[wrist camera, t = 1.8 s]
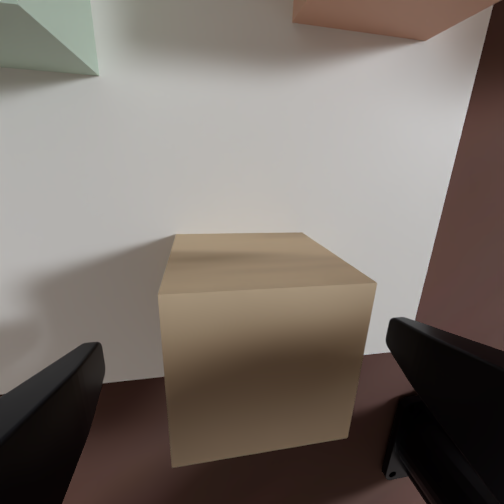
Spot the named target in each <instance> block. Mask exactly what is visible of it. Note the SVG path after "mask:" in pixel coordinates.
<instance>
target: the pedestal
mask: <svg viewBox="0 0 504 504" xmlns="http://www.w3.org/2000/svg"><path fill="white" fill-rule="evenodd" d="M0 67H3V68H14V69H26V70H37V71H48V72H60V73H71V74H83V75H94V76H99V69H98V60H97V52H96V44H95V36H94V28H93V20H92V11H91V3H90V0H0Z"/></svg>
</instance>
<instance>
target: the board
mask: <svg viewBox="0 0 504 504" xmlns="http://www.w3.org/2000/svg"><path fill="white" fill-rule="evenodd" d="M293 1H294V0H90V3H91V11H92V20H93V28H94V36H95V44H96V52H97V60H98V69H99V76H94V75H83V74H71V73H60V72H48V71H37V70H26V69H14V68H3V67H0V394H6V393H8V392H9V391H11V390H12V389H14V388H15V387H17V386H18V385H20V384H21V383H23V382H24V381H26V380H28V379H29V378H31V377H32V376H34V375H35V374H37V373H38V372H40V371H41V370H43V369H44V368H46V367H47V366H49V365H51V364H52V363H54V362H55V361H57V360H58V359H60V358H61V357H63V356H64V355H66V354H67V353H69V352H70V351H72V350H73V349H75V348H77V347H78V346H80V345H81V344H83V343H88V342H100V343H101V345H102V349H103V355H104V361H105V376H104V380H103V383H110V382H120V381H129V380H138V379H147V378H156V377H164V366H163V354H162V342H161V330H160V318H159V305H158V292H159V289H160V285H161V282H162V279H163V275H164V272H165V269H166V265H167V262H168V259H169V256H170V252H171V249H172V246H173V242H174V239H175V236H176V234H223V233H294V232H302V233H304V234H305V235H307V236H308V237H310V238H311V239H313V240H314V241H316V242H317V243H319V244H320V245H322V246H323V247H325V248H326V249H328V250H329V251H331V252H332V253H333V254H335V255H336V256H338V257H339V258H341V259H342V260H344V261H345V262H347V263H348V264H350V265H351V266H353V267H354V268H356V269H357V270H359V271H360V272H362V273H363V274H365V275H366V276H368V277H369V278H371V279H372V280H374V281H375V282H377V287H376V293H375V298H374V303H373V308H372V313H371V319H370V324H369V329H368V334H367V340H366V345H365V350H364V355H368V354H377V353H386V352H390V350H389V348H388V347H387V345H386V334H387V329H388V324H389V321H390V319H391V318H394V317H405V318H408V319H411V320H414V321H415V317H416V313H417V309H418V305H419V301H420V297H421V293H422V289H423V285H424V281H425V277H426V273H427V269H428V265H429V261H430V257H431V253H432V249H433V245H434V241H435V237H436V233H437V229H438V225H439V221H440V217H441V213H442V209H443V205H444V201H445V197H446V193H447V189H448V185H449V181H450V177H451V173H452V169H453V165H454V161H455V157H456V153H457V149H458V145H459V141H460V137H461V133H462V129H463V125H464V121H465V117H466V113H467V109H468V105H469V100H470V96H471V92H472V88H473V84H474V80H475V76H476V72H477V68H478V64H479V60H480V56H481V52H482V48H483V44H484V40H485V36H486V32H487V28H488V24H489V20H490V16H491V12H492V8H493V5H492V6H490V7H488V8H486V9H484V10H482V11H480V12H478V13H477V14H475V15H473V16H471V17H469V18H467V19H465V20H463V21H462V22H460V23H458V24H456V25H454V26H452V27H450V28H448V29H447V30H445V31H443V32H441V33H439V34H437V35H435V36H434V37H432V38H430V39H428V40H426V41H421V40H414V39H407V38H400V37H393V36H385V35H378V34H371V33H364V32H357V31H349V30H342V29H335V28H328V27H321V26H313V25H306V24H299V23H292V17H293Z"/></svg>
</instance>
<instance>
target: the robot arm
mask: <svg viewBox="0 0 504 504" xmlns="http://www.w3.org/2000/svg"><path fill="white" fill-rule="evenodd" d="M386 345H387V347H388V348H389V350H390V352H391V353H392V355H393V356H394V358H395V360H396V361H397V363H398V364H399V366H400V368H401V369H402V371H403V373H404V374H405V376H406V377H407V379H408V381H409V382H410V384H411V385H412V387H413V388H414V390H415V391H416V392H417V394H418V395H416V396H409V397H405V398H403V399H402V400H401V401H400V402H399V404H398V408H397V412H396V416H395V420H394V424H393V428H392V432H391V436H390V439H389V443H388V447H387V451H386V455H385V459H384V463H383V467H382V472H383V474H384V476H385V477H386V479H388V480H392V479H397V478H402V477H407V476H408V477H409V478H410V480H411V481H412V483H413V484H414V486H415V487H416V489H417V490H418V492H419V493H420V495H421V496H422V497H423V499H424V500H425V502H426V503H427V504H504V351H501V350H498V349H495V348H492V347H490V346H487V345H484V344H481V343H478V342H475V341H472V340H469V339H466V338H463V337H461V336H458V335H455V334H452V333H449V332H446V331H443V330H440V329H437V328H434V327H432V326H429V325H426V324H423V323H420V322H417V321H414V320H411V319H408V318H405V317H394V318H391V319H390V321H389V324H388V329H387V334H386ZM104 376H105V361H104V355H103V349H102V345H101V343H100V342H88V343H83V344H81V345H80V346H78V347H77V348H75V349H73V350H72V351H70V352H69V353H67V354H66V355H64V356H63V357H61V358H60V359H58V360H57V361H55V362H54V363H52V364H51V365H49V366H47V367H46V368H44V369H43V370H41V371H40V372H38V373H37V374H35V375H34V376H32V377H31V378H29V379H28V380H26V381H24V382H23V383H21V384H20V385H18V386H17V387H15V388H14V389H12V390H11V391H9V392H8V393H6V394H5V395H3V396H1V397H0V504H62V502H63V500H64V497H65V494H66V492H67V489H68V487H69V484H70V481H71V479H72V476H73V474H74V471H75V468H76V466H77V463H78V461H79V458H80V455H81V453H82V450H83V448H84V445H85V442H86V440H87V437H88V434H89V431H90V428H91V424H92V421H93V417H94V413H95V410H96V406H97V402H98V398H99V395H100V391H101V387H102V383H103V380H104Z"/></svg>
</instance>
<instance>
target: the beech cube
mask: <svg viewBox="0 0 504 504" xmlns="http://www.w3.org/2000/svg"><path fill="white" fill-rule="evenodd" d="M376 287H377V282H375V281H374V280H372V279H371V278H369V277H368V276H366V275H365V274H363V273H362V272H360V271H359V270H357V269H356V268H354V267H353V266H351V265H350V264H348V263H347V262H345V261H344V260H342V259H341V258H339V257H338V256H336V255H335V254H333V253H332V252H331V251H329V250H328V249H326V248H325V247H323V246H322V245H320V244H319V243H317V242H316V241H314V240H313V239H311V238H310V237H308V236H307V235H305V234H304V233H302V232H294V233H223V234H176V236H175V239H174V242H173V246H172V249H171V252H170V256H169V259H168V262H167V265H166V269H165V272H164V275H163V279H162V282H161V285H160V289H159V292H158V305H159V318H160V330H161V342H162V354H163V366H164V378H165V390H166V402H167V415H168V427H169V439H170V451H171V463H172V468H175V467H181V466H187V465H192V464H198V463H204V462H210V461H216V460H222V459H228V458H233V457H239V456H245V455H251V454H257V453H263V452H269V451H275V450H280V449H286V448H292V447H298V446H304V445H310V444H316V443H321V442H327V441H333V440H339V439H345V438H348V434H349V428H350V423H351V418H352V413H353V407H354V402H355V397H356V392H357V387H358V381H359V376H360V371H361V366H362V360H363V355H364V350H365V345H366V340H367V334H368V329H369V324H370V319H371V313H372V308H373V303H374V298H375V293H376Z"/></svg>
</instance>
